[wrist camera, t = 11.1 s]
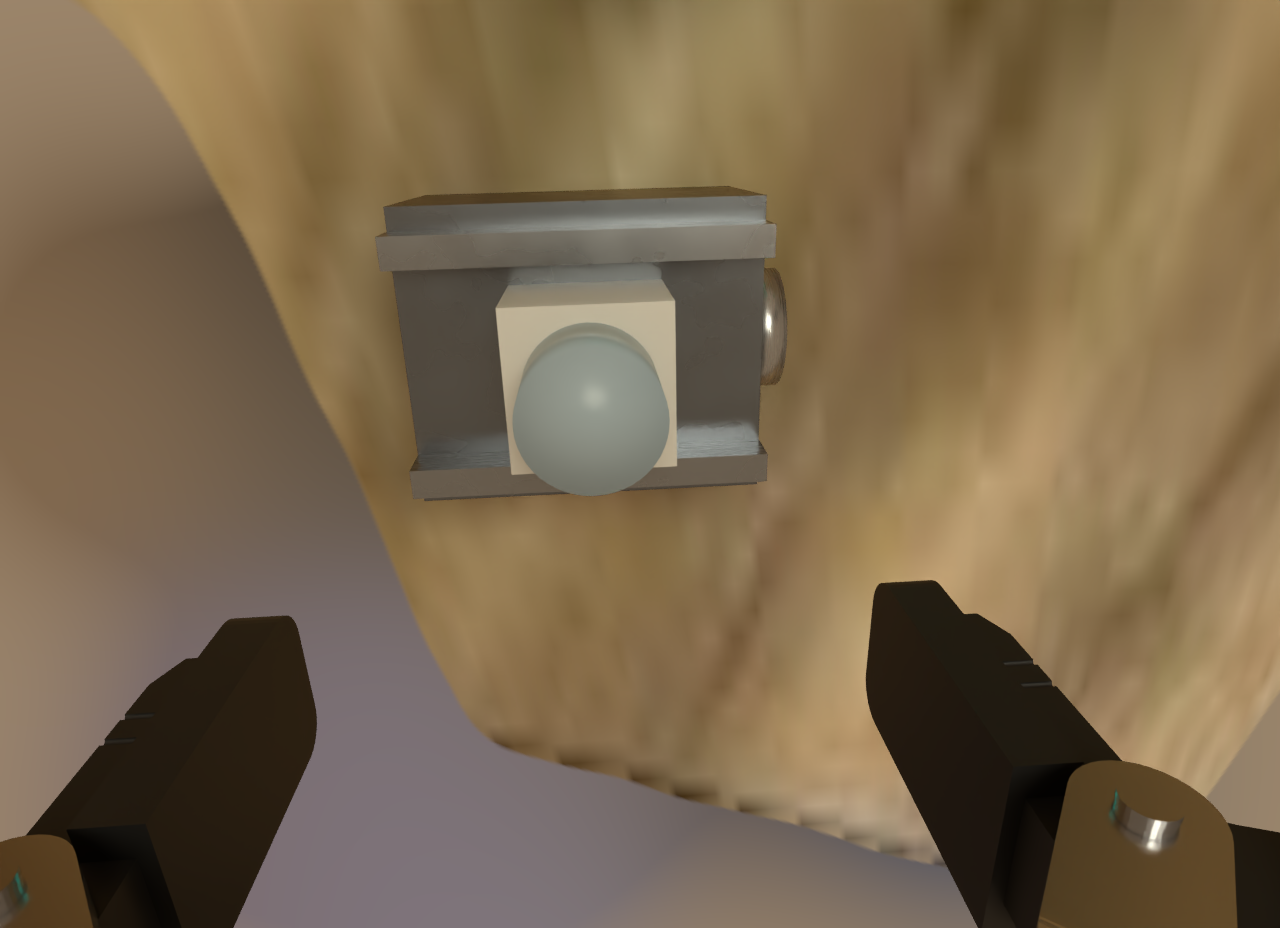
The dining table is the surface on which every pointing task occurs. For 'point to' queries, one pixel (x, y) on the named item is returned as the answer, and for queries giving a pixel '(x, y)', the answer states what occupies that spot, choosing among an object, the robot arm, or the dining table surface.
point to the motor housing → (573, 253)
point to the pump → (589, 382)
